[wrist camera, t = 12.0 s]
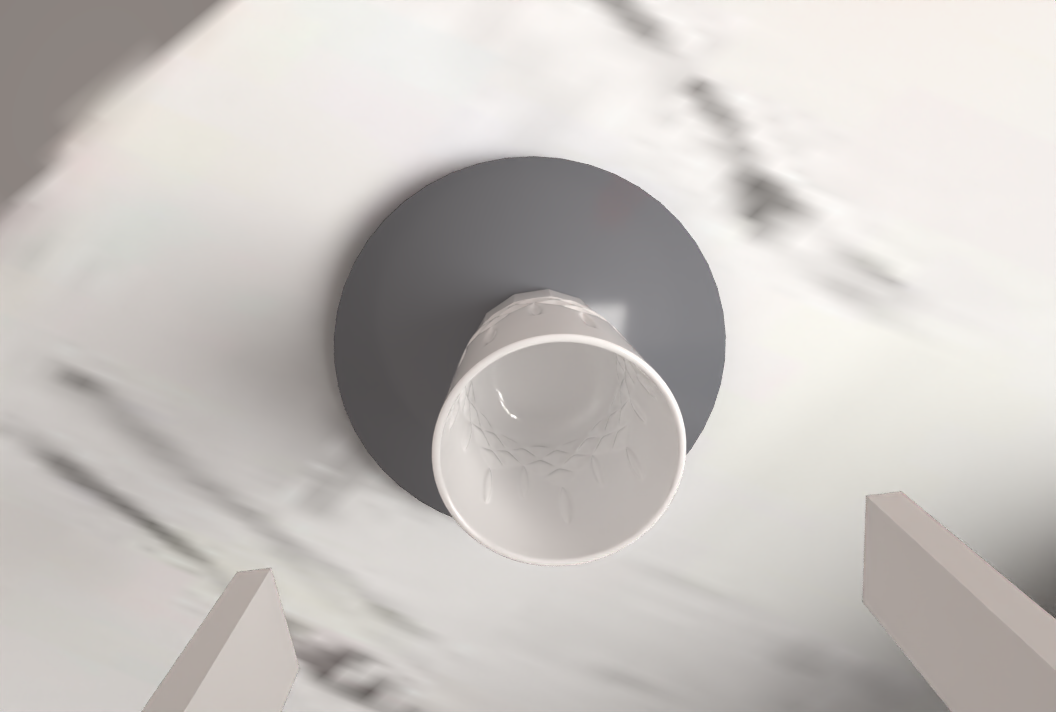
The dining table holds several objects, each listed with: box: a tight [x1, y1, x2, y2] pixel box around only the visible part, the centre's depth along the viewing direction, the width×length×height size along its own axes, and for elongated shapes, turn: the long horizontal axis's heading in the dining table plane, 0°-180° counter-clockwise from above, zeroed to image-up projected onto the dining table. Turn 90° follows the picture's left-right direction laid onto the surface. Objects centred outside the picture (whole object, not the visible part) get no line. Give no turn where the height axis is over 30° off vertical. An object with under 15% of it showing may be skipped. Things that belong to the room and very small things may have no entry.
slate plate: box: [334, 156, 726, 517], centre depth 30 cm, size 18×18×2 cm
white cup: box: [432, 289, 686, 566], centre depth 24 cm, size 8×8×10 cm
